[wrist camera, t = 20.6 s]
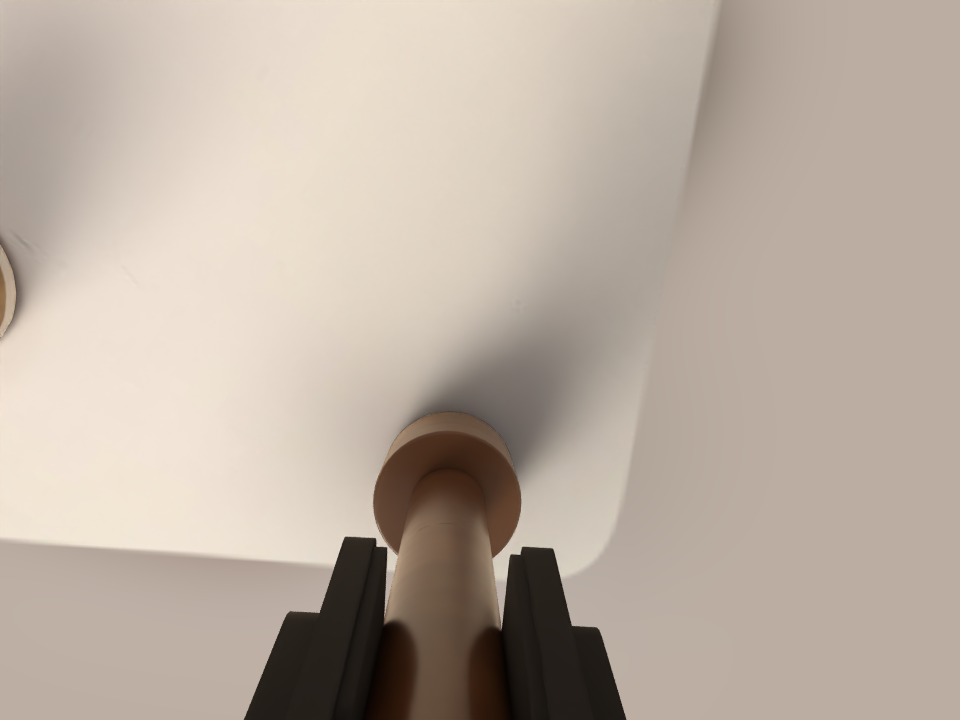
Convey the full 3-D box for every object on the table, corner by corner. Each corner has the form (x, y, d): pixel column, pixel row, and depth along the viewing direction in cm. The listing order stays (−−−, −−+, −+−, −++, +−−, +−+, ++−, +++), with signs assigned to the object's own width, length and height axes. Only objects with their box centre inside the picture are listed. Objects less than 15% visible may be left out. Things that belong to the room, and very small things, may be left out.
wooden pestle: (513, 410, 22) (670, 752, 6) (512, 535, 22) (655, 1169, 6) (383, 411, 21) (173, 765, 6) (385, 537, 22) (197, 1191, 6)
